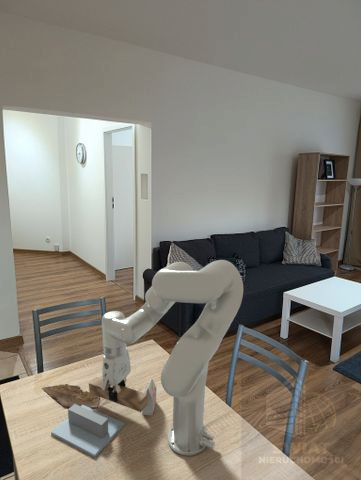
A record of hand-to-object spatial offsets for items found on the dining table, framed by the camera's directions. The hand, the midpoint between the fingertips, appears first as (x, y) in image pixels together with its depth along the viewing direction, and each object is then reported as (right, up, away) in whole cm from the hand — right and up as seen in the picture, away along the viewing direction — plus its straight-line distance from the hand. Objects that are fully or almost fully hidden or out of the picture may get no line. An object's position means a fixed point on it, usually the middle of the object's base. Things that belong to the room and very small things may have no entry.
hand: (117, 395), depth 114 cm
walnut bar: (0, -1, 0) cm, 1 cm away
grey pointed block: (+11, -6, +3) cm, 13 cm away
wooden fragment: (-19, -4, +8) cm, 21 cm away
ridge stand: (-8, -7, -8) cm, 13 cm away
